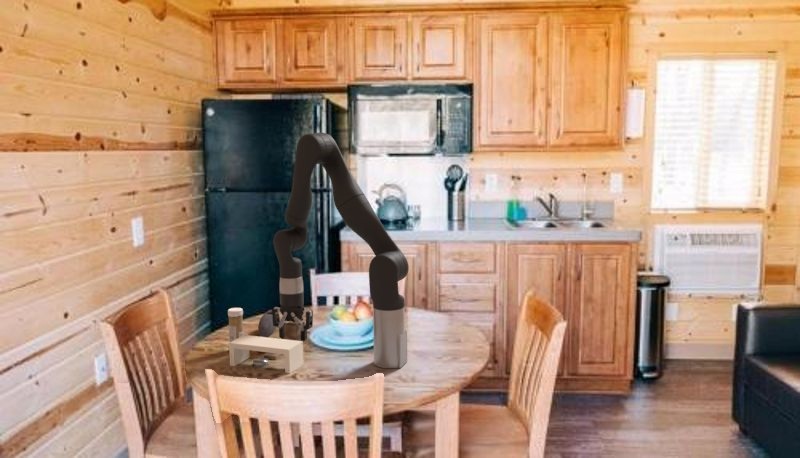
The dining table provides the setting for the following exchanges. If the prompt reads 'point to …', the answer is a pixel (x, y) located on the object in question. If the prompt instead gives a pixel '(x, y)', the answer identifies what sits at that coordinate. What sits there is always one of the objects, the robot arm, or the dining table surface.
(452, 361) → the dining table surface
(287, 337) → the brown l-shaped block
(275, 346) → the shelf
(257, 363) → the silver metal dome
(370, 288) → the robot arm
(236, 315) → the sprinkles bottle
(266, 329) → the perforated stone tool
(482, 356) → the dining table surface
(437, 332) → the dining table surface
